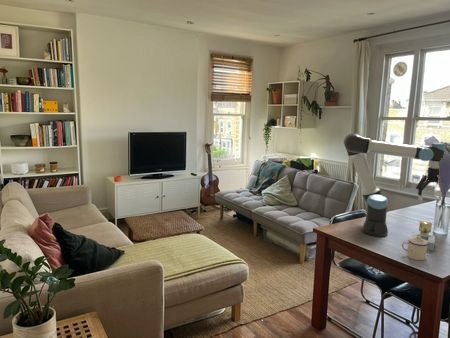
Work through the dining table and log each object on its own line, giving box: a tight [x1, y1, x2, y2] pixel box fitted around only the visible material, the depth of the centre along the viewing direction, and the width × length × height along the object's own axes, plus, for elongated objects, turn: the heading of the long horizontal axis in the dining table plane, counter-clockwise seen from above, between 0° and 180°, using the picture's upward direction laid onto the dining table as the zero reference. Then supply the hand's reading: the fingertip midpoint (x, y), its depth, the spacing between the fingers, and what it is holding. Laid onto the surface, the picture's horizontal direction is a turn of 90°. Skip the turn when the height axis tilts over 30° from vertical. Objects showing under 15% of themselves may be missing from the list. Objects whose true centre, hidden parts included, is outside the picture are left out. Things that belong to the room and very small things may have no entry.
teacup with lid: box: [401, 236, 428, 261], centre depth 178 cm, size 12×9×12 cm
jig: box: [409, 232, 436, 252], centre depth 194 cm, size 12×12×4 cm
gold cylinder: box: [418, 220, 433, 236], centre depth 203 cm, size 6×6×10 cm
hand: (430, 200), depth 212 cm, fingers open, 13 cm apart
